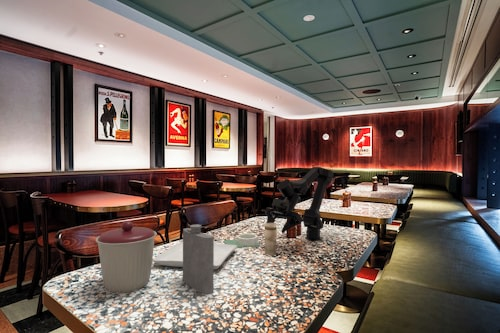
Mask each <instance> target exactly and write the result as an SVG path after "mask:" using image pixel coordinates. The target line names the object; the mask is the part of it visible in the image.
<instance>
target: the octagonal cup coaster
mask: <svg viewBox="0 0 500 333" xmlns="http://www.w3.org/2000/svg"><path fill="white" fill-rule="evenodd" d="M223 244H227V245H237V248H236V249H240V248H242V249H243V248H253V247H256V248H257V247H261V244H260V243H259V236H258V235H257V234H255V233H254V234H253V233H241V234H238V235H237V236H236V239H227V240H223Z"/></svg>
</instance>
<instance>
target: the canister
mask: <svg viewBox="0 0 500 333" xmlns="http://www.w3.org/2000/svg"><path fill="white" fill-rule="evenodd" d="M156 237H157V232H156V231H155V230H153V229H152V228H148V227H142V226H134V223H133V222H132V221H130V220H129V221H127V220H126V221H123V222H122V223H121V226H120V227H119V228H115V229H110V230H107V231H105V232H103V233H101V234H100V235H98V236H97V237H96V238H95V240H94V241H95V242H96V243H97V246H98V253H99V254H98V256H99V262H100V269H101V276H102V282H103V286H104V287H105V289H106V290H107V291H109V292H111V293H115V294H116V293H117V294H118V293H120V294H122V293H128V292H133V291H137V290H139V289H142V288H143V287H145V286H146V285H147V284H148V283H149V280H150V278H151V273H152V266H153V261H152V259H153V257H154V250H155V247H154V246H155V238H156Z"/></svg>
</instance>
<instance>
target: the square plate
mask: <svg viewBox="0 0 500 333" xmlns="http://www.w3.org/2000/svg"><path fill="white" fill-rule="evenodd" d="M236 249H238V248H237V245H227V244H225V243H217V242H216V243H215V242H214V270H218V269H219V268H220V267H221V266H222V265H223V263H224V262H225V261H226V260H227V259H228V257H230V256H231V255H232V254H233V253H234V252H235V250H236ZM152 263H155V264H156V265H159V266H167V267H173V268H174V267H175V268H176V267H177V268H183V241H180V242H179V243H177V244H175V245H173V246H171V247H169V248H167V249H166V250H164V251H163V252H161V253H160V254H157V255H156V256H155V257H154V258H153V259H152Z"/></svg>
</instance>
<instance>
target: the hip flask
mask: <svg viewBox="0 0 500 333" xmlns="http://www.w3.org/2000/svg"><path fill="white" fill-rule="evenodd" d="M214 240H215V236H214V235H212V234H207V233H204V232H202V224H191V225H190V226H189V227H188V228H187V227H186V228H183V230H182V242H183V267H182V280H183V282H184V283H185V284H186V285H188V286H189V287H190V288H192V289H194V290H196V291H197V292H199V293H202V294H204V295H211V294H213V293H214V279H215V278H214V275H215V274H214V243H215V242H214Z"/></svg>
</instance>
